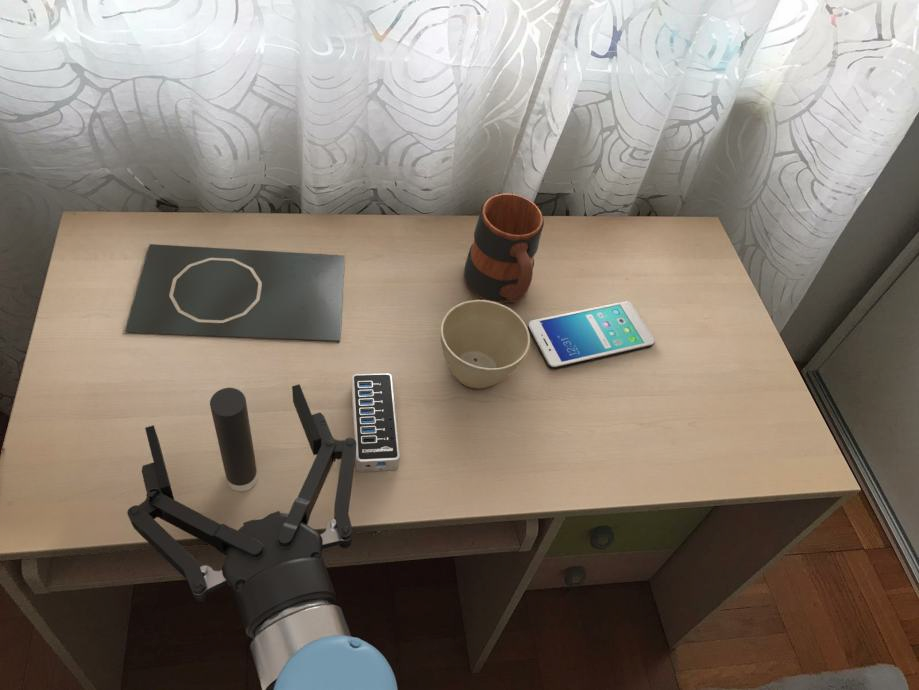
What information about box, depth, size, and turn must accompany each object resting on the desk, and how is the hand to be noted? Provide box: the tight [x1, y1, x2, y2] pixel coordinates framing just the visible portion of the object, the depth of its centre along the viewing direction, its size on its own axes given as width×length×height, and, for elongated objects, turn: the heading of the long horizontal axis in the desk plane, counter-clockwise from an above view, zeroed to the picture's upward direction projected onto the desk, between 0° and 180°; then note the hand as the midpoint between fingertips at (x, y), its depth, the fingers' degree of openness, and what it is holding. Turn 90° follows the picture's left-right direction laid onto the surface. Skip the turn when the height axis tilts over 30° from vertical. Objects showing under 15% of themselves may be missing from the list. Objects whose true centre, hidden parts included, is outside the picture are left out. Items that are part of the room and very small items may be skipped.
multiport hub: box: [350, 373, 400, 473], centre depth 80 cm, size 4×11×2 cm, turn 8°
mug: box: [463, 193, 545, 304], centre depth 92 cm, size 9×12×12 cm
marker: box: [209, 387, 259, 492], centre depth 70 cm, size 3×3×14 cm
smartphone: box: [527, 300, 656, 370], centre depth 93 cm, size 8×1×15 cm
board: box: [124, 243, 346, 343], centre depth 90 cm, size 24×14×1 cm, turn 93°
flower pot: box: [440, 299, 531, 390], centre depth 85 cm, size 10×10×7 cm
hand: (226, 412), depth 71 cm, fingers open, 13 cm apart
